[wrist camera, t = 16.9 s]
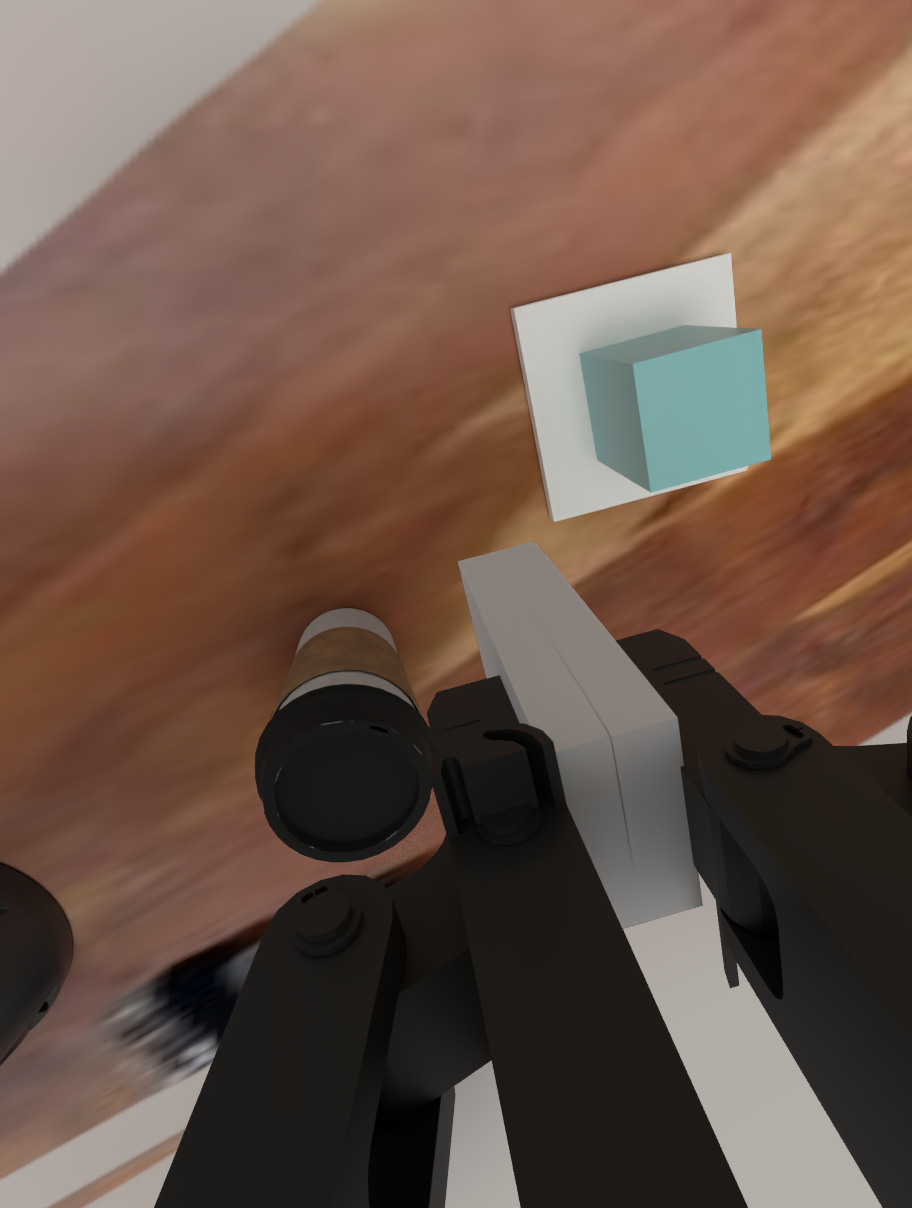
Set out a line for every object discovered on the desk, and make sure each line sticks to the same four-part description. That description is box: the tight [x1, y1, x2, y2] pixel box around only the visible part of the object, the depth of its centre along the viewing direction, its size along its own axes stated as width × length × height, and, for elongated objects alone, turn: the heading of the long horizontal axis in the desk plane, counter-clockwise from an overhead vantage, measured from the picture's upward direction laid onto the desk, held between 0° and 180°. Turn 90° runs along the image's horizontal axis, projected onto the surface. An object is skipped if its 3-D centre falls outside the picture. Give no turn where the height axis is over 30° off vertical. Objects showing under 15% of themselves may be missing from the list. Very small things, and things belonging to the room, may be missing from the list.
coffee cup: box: [255, 608, 435, 862], centre depth 39 cm, size 8×8×15 cm
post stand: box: [510, 253, 748, 522], centre depth 39 cm, size 12×12×8 cm
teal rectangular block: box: [579, 325, 771, 493], centre depth 38 cm, size 6×6×8 cm
